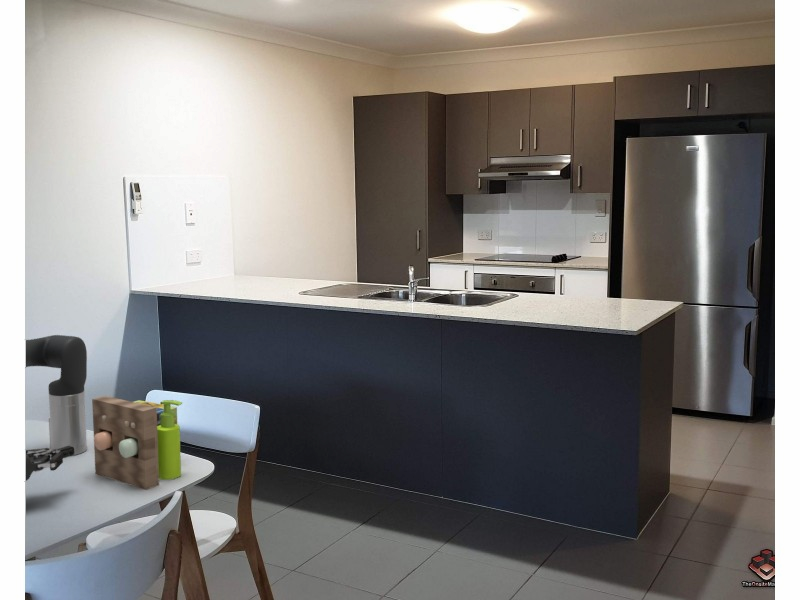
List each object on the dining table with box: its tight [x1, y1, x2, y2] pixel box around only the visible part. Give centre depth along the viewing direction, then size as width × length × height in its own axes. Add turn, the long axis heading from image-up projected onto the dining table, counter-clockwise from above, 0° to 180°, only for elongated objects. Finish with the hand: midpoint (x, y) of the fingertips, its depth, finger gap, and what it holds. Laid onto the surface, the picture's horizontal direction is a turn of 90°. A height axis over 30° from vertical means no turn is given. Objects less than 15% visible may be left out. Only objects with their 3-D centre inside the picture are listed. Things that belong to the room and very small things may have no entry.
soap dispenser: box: [157, 399, 183, 481], centre depth 198 cm, size 6×7×20 cm
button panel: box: [91, 395, 160, 490], centre depth 195 cm, size 20×4×20 cm, turn 57°
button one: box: [93, 431, 113, 450], centre depth 196 cm, size 4×3×4 cm
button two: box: [119, 437, 138, 458], centre depth 190 cm, size 4×3×4 cm
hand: (72, 450), depth 188 cm, fingers closed
